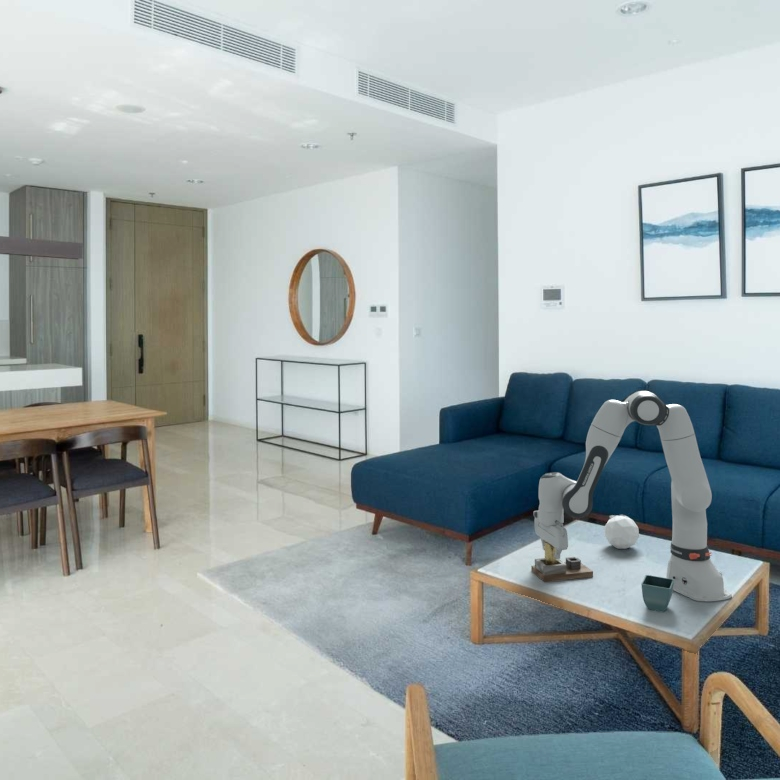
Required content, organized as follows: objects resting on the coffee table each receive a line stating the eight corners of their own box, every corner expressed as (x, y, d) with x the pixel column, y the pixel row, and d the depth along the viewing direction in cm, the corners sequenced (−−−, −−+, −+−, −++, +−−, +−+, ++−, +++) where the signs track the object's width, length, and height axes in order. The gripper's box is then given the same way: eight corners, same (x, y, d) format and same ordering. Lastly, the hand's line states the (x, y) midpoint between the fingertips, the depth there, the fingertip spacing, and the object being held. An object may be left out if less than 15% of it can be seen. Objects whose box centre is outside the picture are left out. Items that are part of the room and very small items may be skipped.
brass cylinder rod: (558, 571, 250) (558, 544, 249) (547, 572, 249) (547, 545, 248) (553, 567, 254) (553, 540, 253) (542, 568, 253) (542, 541, 252)
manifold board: (592, 576, 249) (593, 563, 249) (544, 582, 245) (544, 568, 245) (578, 566, 260) (578, 553, 259) (531, 571, 256) (531, 558, 255)
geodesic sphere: (592, 536, 277) (615, 511, 272) (596, 526, 289) (617, 502, 285) (622, 560, 273) (645, 536, 269) (625, 549, 286) (646, 525, 281)
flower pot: (670, 616, 216) (670, 588, 215) (640, 610, 220) (641, 583, 219) (673, 605, 224) (674, 579, 223) (645, 600, 228) (645, 574, 227)
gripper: (572, 524, 240) (572, 562, 241) (547, 508, 260) (547, 544, 261) (555, 526, 238) (555, 564, 240) (531, 510, 258) (531, 546, 260)
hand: (551, 554), depth 251 cm, fingers open, 8 cm apart
